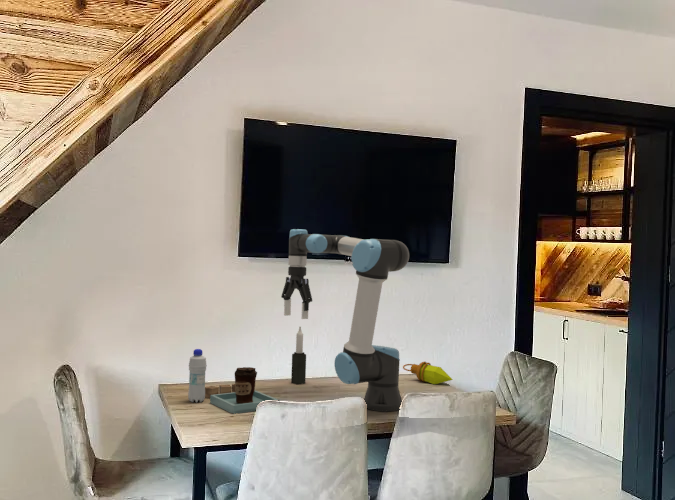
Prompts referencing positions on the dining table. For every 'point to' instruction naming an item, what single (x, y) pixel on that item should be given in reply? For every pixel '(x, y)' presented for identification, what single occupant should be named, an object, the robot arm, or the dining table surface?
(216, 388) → the walnut block
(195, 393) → the bottle
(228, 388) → the walnut block
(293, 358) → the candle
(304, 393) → the dining table surface
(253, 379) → the coffee cup
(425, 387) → the dining table surface
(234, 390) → the walnut block
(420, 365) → the plumb bob
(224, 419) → the dining table surface
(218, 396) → the tray
